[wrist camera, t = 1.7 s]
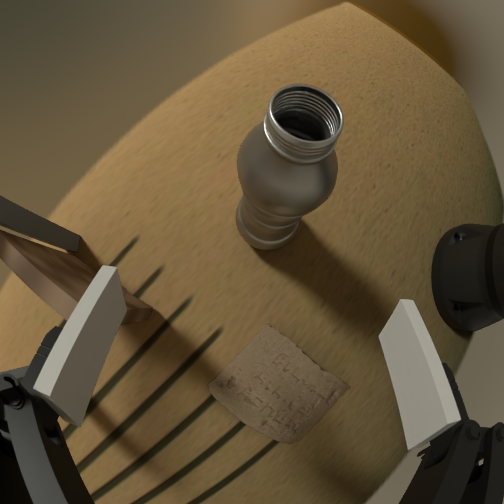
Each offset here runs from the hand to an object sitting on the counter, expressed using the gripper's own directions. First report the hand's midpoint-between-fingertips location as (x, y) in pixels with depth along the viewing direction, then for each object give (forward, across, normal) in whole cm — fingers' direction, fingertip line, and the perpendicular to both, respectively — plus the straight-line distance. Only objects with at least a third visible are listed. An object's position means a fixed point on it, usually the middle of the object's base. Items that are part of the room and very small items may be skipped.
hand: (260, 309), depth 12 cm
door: (+13, -16, -12) cm, 23 cm away
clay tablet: (+7, +5, -20) cm, 21 cm away
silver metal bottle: (+19, +1, -6) cm, 20 cm away
